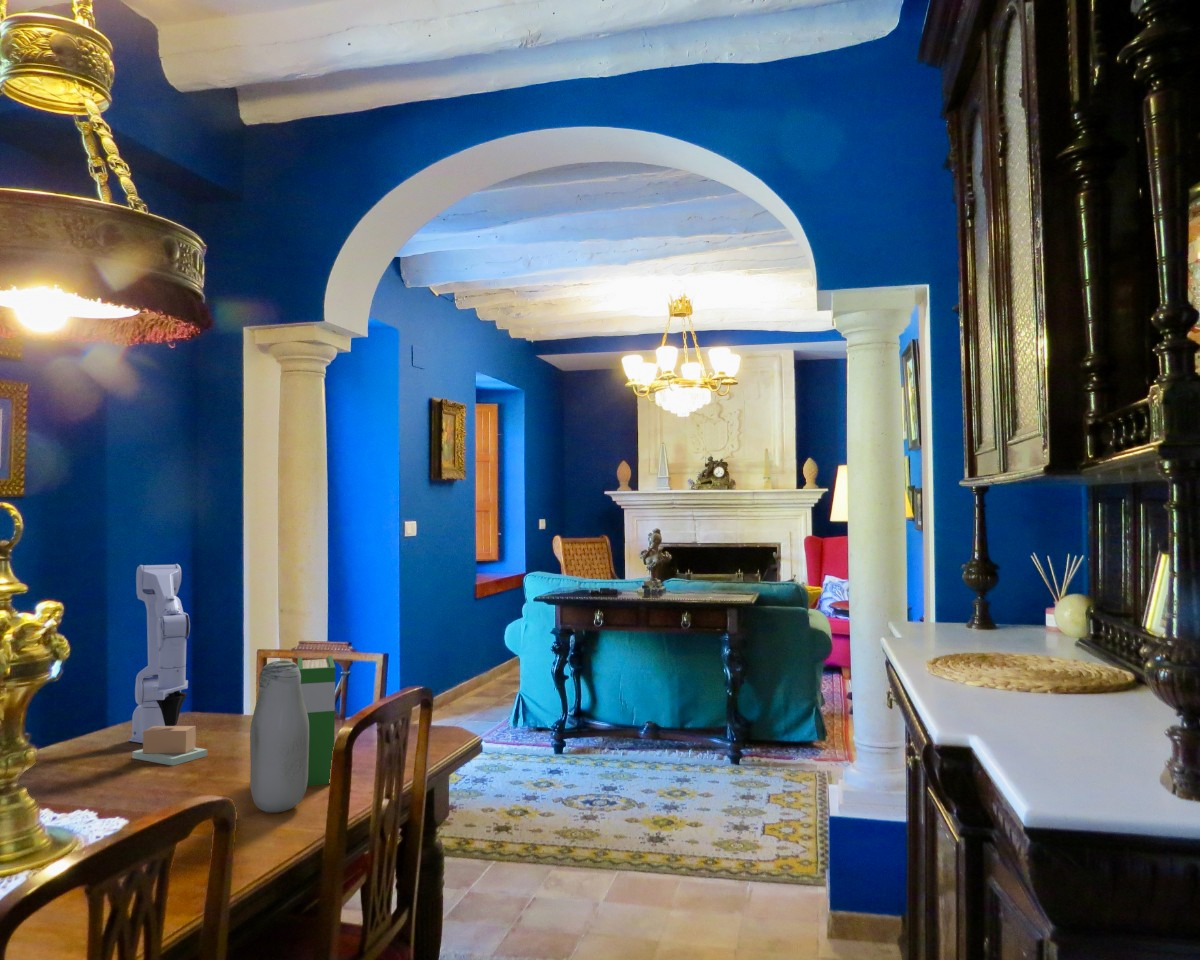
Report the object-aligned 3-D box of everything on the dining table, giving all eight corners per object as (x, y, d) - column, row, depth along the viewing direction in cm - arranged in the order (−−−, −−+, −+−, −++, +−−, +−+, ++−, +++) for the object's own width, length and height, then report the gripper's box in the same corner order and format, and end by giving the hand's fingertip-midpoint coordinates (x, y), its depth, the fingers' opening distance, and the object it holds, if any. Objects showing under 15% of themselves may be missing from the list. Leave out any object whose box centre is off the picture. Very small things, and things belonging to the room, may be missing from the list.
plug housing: (142, 753, 196) (143, 731, 196) (153, 747, 201) (153, 726, 201) (185, 752, 196) (186, 730, 196) (195, 747, 201) (195, 725, 201)
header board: (132, 758, 198) (132, 738, 198) (167, 749, 206) (167, 730, 206) (172, 765, 191) (173, 745, 192) (207, 756, 199) (207, 736, 200)
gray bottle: (276, 799, 167) (279, 655, 169) (318, 805, 164) (320, 658, 165) (237, 815, 158) (240, 663, 160) (280, 822, 154) (283, 666, 156)
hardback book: (295, 764, 192) (297, 657, 193) (330, 761, 195) (331, 655, 196) (296, 787, 176) (298, 669, 177) (333, 783, 178) (335, 667, 179)
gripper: (167, 662, 206) (165, 718, 206) (140, 672, 192) (139, 733, 191) (197, 661, 207) (196, 718, 206) (173, 671, 193) (172, 732, 192)
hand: (170, 725), depth 199 cm, fingers closed
